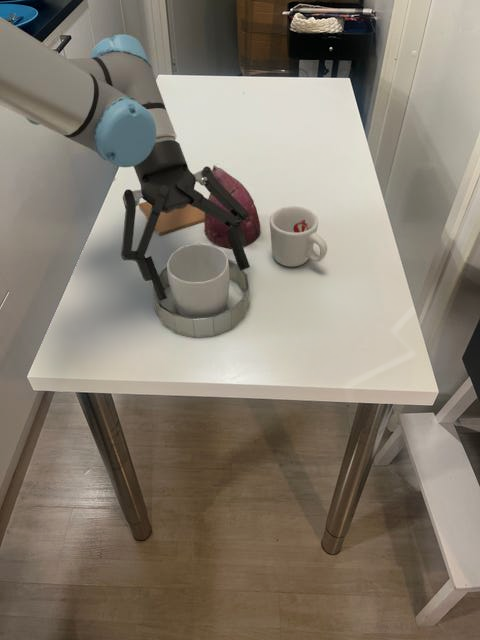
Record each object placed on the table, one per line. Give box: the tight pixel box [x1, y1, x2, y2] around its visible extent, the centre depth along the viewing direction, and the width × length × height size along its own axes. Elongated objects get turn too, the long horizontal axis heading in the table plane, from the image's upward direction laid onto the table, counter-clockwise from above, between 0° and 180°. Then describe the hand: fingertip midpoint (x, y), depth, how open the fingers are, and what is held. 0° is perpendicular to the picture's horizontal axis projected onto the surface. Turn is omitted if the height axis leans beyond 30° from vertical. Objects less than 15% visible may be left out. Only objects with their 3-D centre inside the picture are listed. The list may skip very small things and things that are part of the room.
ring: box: [152, 258, 250, 339], centre depth 78 cm, size 15×15×4 cm
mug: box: [166, 243, 231, 318], centre depth 76 cm, size 13×9×10 cm
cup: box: [269, 205, 328, 267], centre depth 84 cm, size 11×8×8 cm
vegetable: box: [203, 164, 261, 249], centre depth 88 cm, size 10×10×15 cm
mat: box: [138, 201, 205, 236], centre depth 97 cm, size 11×11×1 cm
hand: (205, 284), depth 75 cm, fingers open, 13 cm apart
